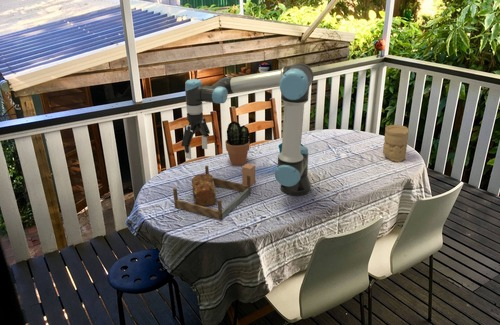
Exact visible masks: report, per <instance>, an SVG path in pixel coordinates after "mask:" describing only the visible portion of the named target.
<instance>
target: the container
mask: <svg viewBox="0 0 500 325" xmlns="http://www.w3.org/2000/svg"><path fill="white" fill-rule="evenodd" d="M409 132H410V130H409V129H408V127H407V126H405V125H402V124H401V125H400V124H390V125H387V126H385V130H384V141H383V149H382V154H383V155H384V156H385V157H386V158H387V159H388V160H389V161H391V162H395V163H401V162H402V161H404V160H406V156H407V148H408V142H409V141H408V140H409Z"/></svg>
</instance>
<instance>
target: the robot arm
mask: <svg viewBox="0 0 500 325" xmlns="http://www.w3.org/2000/svg"><path fill="white" fill-rule="evenodd" d="M313 82H314V73H313V70H312V68H311V67H310V66H309V65H308V64H306V63H302V62H301V63H295V64H291V65H285V66H283V67H282V68H280V69H275V70H270V71H269V70H268V71H264V72H258V73H252V74H247V75H239V76H235V77H228V76H227V77H223V78H221V79H219V80H218V81H216V82H214V83H213V84H212V85H204V84H203V82H202V80H201V79H198V78H191V79H187V80H186V81H185V86H184V87H185V88H184V89H185V90H184V92H185V106H186V120H187V122H188V125H187V124H186V125H184V132H183V136H182V141H181V147H184V153H185V159H187V160H188V159H189V160H192V152H191V151H192V149H191V148H192V147H191V143H192V140H193V137H194V135H195V134H196V132H198V131H199V132H200V134H201V148H202V150H204V149H205V150H207V149H208V137H210V134H211V131H210V129H209V127H208V124H207V122H206V121H207V120H206V118H205V117H204V113H203V111H204V109H203V102H205V103H213V104H225V103H226V102H227V99H228V95H232V94H238V93H240V94H241V93H245V92H246V93H247V92H253V91H258V90H265V89H272V88H273V89H274V88H278V87H279V90H280V93H281V98H280V99H281V101H282V102H283V104H284V106H283V122H282V123H283V124H282V137H281V138H282V139H281V152H279V153H278V156H277V163H276V164H277V165H276V168H275V170H274V178H275V179H276V181H277V183H279V184H280V191H281V192H283V194H285V195H288V196H293V197H294V196H296V197H298V196H304V195H307V194H309V192H310V191H311V183H310V178H309V176H308V174H309V172H308V170H309V169H308V168H309V166H308V165H309V149H308V147H307V146H305V145H302V139H303V138H302V137H303V136H302V135H303V126H304V124H303V123H304V113H305V112H304V110H305V104H306V103H308V101H309V95H310V87H311V86H312V84H313Z"/></svg>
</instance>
